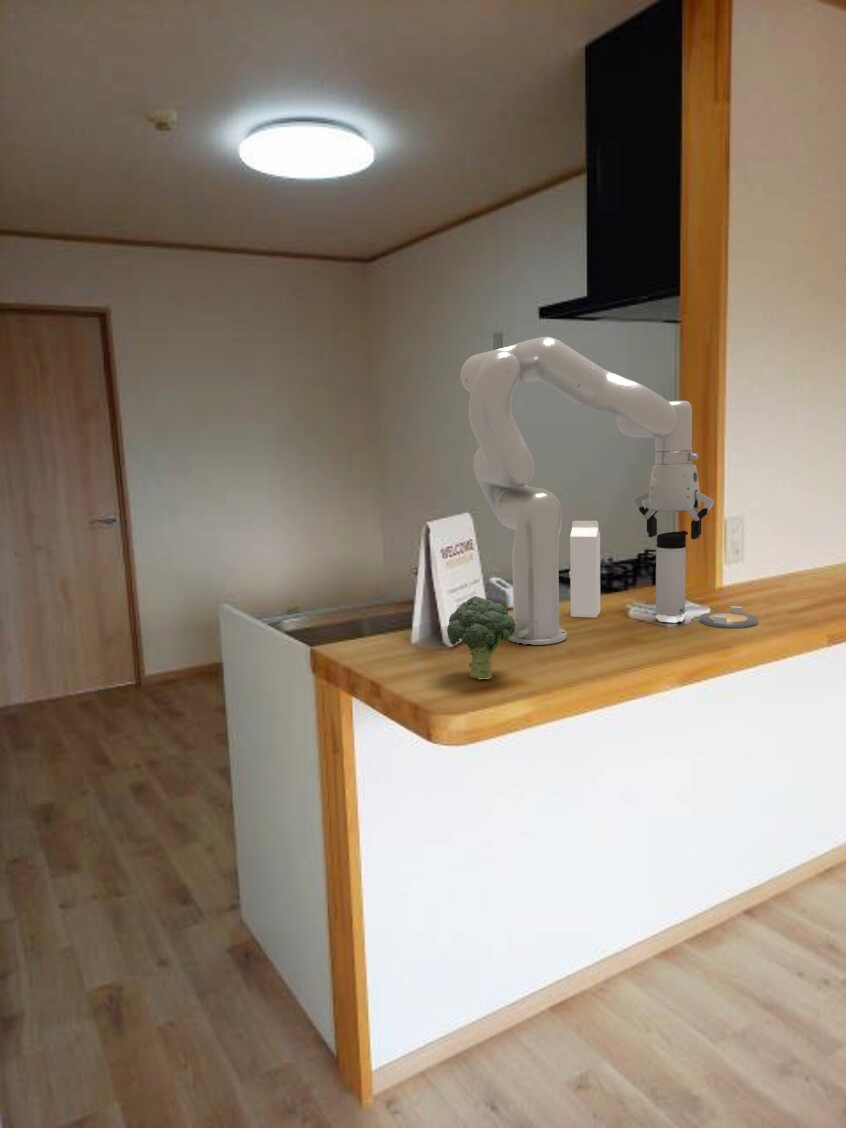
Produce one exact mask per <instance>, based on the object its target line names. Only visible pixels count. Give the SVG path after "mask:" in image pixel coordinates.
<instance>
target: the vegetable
mask: <svg viewBox="0 0 846 1128" xmlns="http://www.w3.org/2000/svg"><path fill="white" fill-rule="evenodd" d="M515 629H516V628H515V623H514V619H513V616H512V615H509V613H508V610H506V607H505V606H504V605H502V603H499V602H494V601H493V600H491V599H486V598H483V597H479V596H477V595H474V596H472V597H470V598H468V599H467V600H466V601H464V602H462V603H461V604H460V605H459V607H458V608H456V610H455V611H454V612H453V613H451V614H450V617H449V618H448V625H447V628H446V632H447V638H448V640H449V643H450V645H452V646H453V645H456V644H457V643H459V641H460V639H461V641H462V642H463V643H465V644H466V646H467V647H468V648H469V651H470V655H471V663H469V664H468V666H469V668H470V673H469V677H471V678H474V679H476V678H489V677H491V676H492V675H493V674H492V670H491V669H492V661H491V658H492V656H493V655H494V654H495V652H496V651H497V649H498V647H499V646H500V644H501V643H502V642H508V641H509V638H510V636H511V635H512V634H513V633H514V631H515ZM492 677H493V676H492ZM492 677H491V678H492Z"/></svg>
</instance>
